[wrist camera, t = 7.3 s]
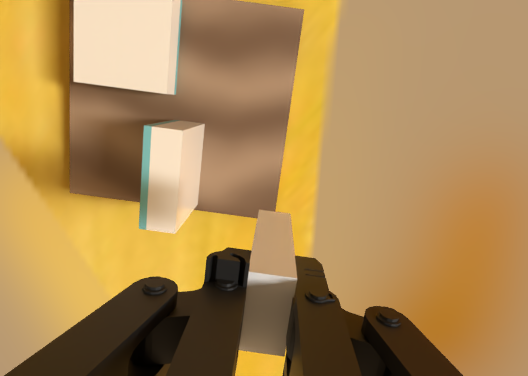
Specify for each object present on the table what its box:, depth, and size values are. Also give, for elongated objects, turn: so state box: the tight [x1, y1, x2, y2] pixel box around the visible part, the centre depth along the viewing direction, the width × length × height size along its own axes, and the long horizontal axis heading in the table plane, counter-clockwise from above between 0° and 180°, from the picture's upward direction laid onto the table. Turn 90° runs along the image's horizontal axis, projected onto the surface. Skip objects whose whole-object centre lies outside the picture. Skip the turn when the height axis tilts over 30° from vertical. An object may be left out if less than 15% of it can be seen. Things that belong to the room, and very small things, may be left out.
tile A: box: [74, 0, 182, 95], centre depth 27 cm, size 7×2×7 cm
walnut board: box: [70, 0, 304, 218], centre depth 30 cm, size 17×18×2 cm
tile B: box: [139, 120, 205, 233], centre depth 27 cm, size 7×2×7 cm, turn 173°
